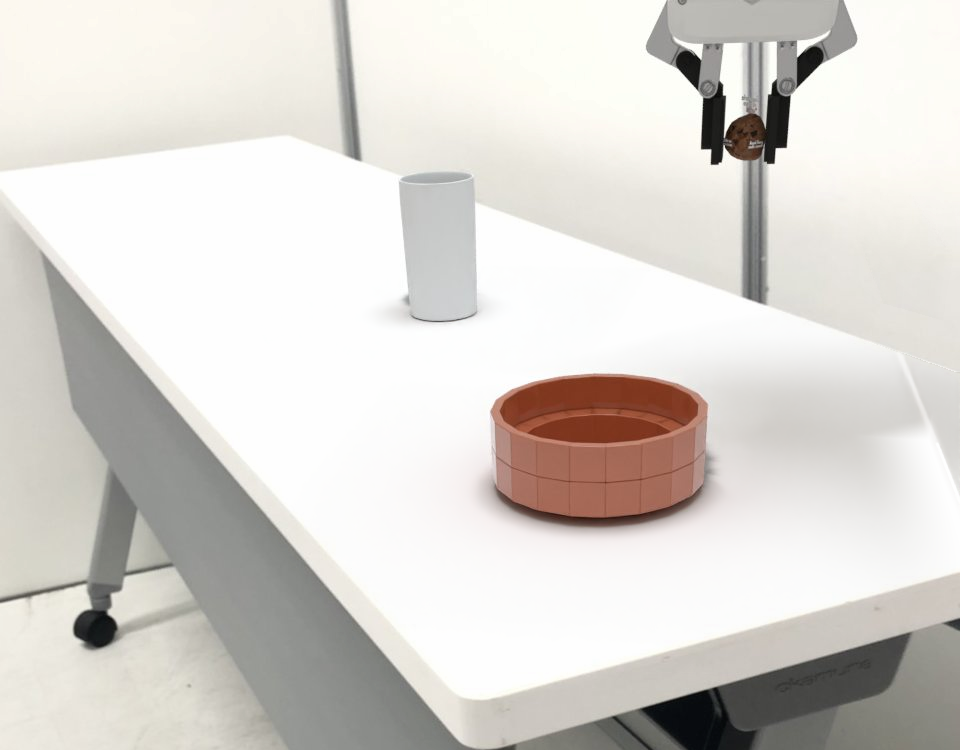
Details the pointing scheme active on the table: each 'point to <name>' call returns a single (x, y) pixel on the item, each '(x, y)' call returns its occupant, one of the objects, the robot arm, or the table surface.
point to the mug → (440, 243)
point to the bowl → (599, 444)
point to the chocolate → (746, 135)
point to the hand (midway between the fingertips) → (743, 158)
